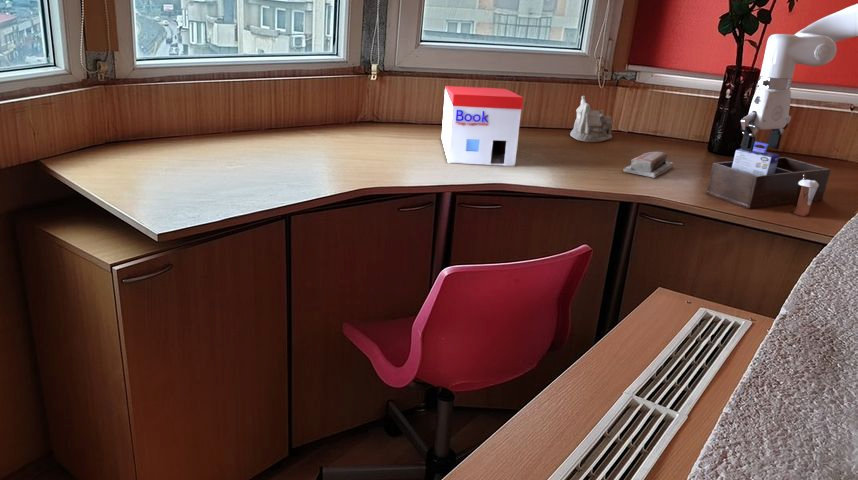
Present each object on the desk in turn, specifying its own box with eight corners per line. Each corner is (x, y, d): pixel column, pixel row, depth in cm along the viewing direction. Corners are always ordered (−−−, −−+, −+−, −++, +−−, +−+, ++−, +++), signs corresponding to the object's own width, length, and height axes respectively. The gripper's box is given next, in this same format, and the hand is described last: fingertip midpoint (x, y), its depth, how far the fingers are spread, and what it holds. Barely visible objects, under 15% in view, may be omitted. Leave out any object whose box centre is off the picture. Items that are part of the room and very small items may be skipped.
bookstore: (448, 163, 220) (453, 94, 212) (441, 138, 252) (445, 78, 245) (515, 166, 220) (523, 97, 212) (500, 141, 253) (506, 80, 245)
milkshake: (803, 210, 189) (813, 174, 185) (813, 217, 184) (824, 179, 180) (785, 210, 189) (795, 173, 185) (795, 216, 184) (805, 178, 180)
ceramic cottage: (575, 140, 258) (583, 98, 253) (566, 133, 273) (574, 93, 268) (618, 145, 258) (627, 103, 253) (607, 137, 273) (615, 97, 268)
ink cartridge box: (769, 198, 195) (783, 145, 190) (761, 201, 192) (774, 148, 186) (734, 189, 202) (745, 138, 196) (725, 192, 198) (736, 140, 193)
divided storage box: (822, 200, 199) (831, 169, 196) (749, 209, 188) (757, 176, 185) (777, 186, 212) (784, 156, 208) (706, 193, 201) (712, 162, 197)
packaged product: (658, 162, 211) (625, 157, 217) (655, 178, 213) (622, 172, 219) (675, 152, 225) (644, 147, 230) (672, 167, 227) (641, 162, 232)
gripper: (762, 87, 179) (748, 154, 186) (810, 85, 186) (794, 150, 192) (738, 83, 185) (724, 148, 192) (785, 81, 192) (770, 144, 199)
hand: (759, 149), depth 192 cm, fingers open, 9 cm apart
